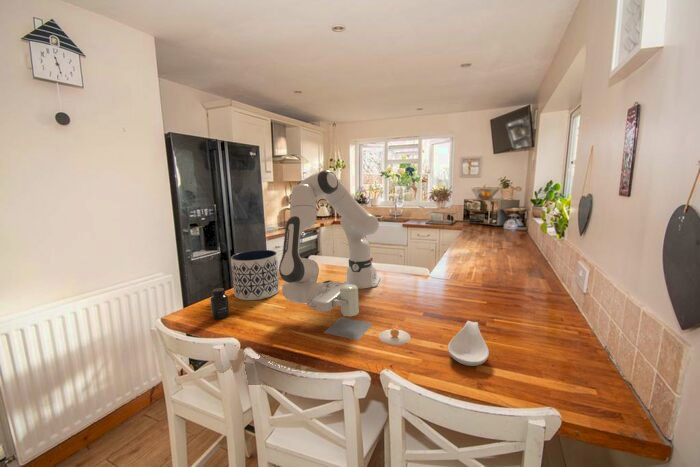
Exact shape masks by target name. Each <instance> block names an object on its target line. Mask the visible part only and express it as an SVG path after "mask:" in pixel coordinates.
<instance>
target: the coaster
mask: <svg viewBox="0 0 700 467" xmlns="http://www.w3.org/2000/svg"><path fill="white" fill-rule="evenodd" d="M392 329H393V328H391V329H385V330H383V331H381V332H380V333H379V335H378V337H379V340H380V341H381V342H383V343H384V344H388V345H392V346H400V345H401V346H402V345H404V344H407V343H409V342H410V341H411V338H412V337H411V334H410V333H408V332H407V331H405V330H402V329H398V331H399V335H398V336H397V337H393V336H392V335H391V333H390V332H391V330H392Z"/></svg>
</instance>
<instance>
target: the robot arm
mask: <svg viewBox="0 0 700 467" xmlns="http://www.w3.org/2000/svg"><path fill="white" fill-rule="evenodd" d="M322 198H325V199H326V201H327V202H328V203H329V205H330V206H331V207H332V209H333V210H334V211H335V212H336V213H337V215H338V216H340V226H341V229H343V231H344V233H345V236H346V239H347V243H348V252H349V253H348V254H349V255H348V257H349V258H348V268H346V279H345V280H344V282H340V281H333V280H332V279H328V280H326V281H321V282H317V280H318V277H319V272H320V271H319V270H320V268H319V265H318V263H317V262H316V261H315V260H314V259H310V258H307V257H306V258H304V257H301V256H300V246H301V245H300V244H301V236H302V233H303V232H305V231H306V230H309V229H311V228H312V227H313V226H314V225H315V224H316V220H317V201H316V200H320V199H322ZM289 205H290V206H289V211H290V212H289V218H288V219H287V221H286V224H285V228H284V229H285V230H284V237H283V249H282V255H281V259H280V263H279V265H278V274H279V276H280V278H281V279H282V280H283V282H284V283H283V284H282V288H281V289H282V290H281V291H282V292H281V293H282V296H283V297H284V298H285V299H286V300H288V301H289V302H291V303H297V304H306V305H307V307H309V308H312V309H313V310H314V311H315V310H316V311H319V312H322V313H328V312H330V311H331V310H332V309H333V308H335V307H341V306H346V305H347V304H348V300H345V299H343V300H340V287H341V286H343V285H348V284H352V285H356V286H357V288H358V290H360V289H368V288H376V287H378V285H379V284H380V281H381V276H379V275H377V268H376V267H374V266H373V264H372V263H373V262H372V261H374V260H373V259H374V258H373V257H372V256H371V245H370V243H369V241H368V240H367V237H366V236H370V235H374V234H376V233H377V231H378V229H379V227H380V224H379V219H378V218H377V217H376V216H375V215H373V214H371V213H370V212H368V210H367V209H365V208H364V207H363V206H362V205H361V204H360V203H359V202H357V200H356V199H355V198H354V197H353V195H352V194H351V193H350V192H349V190H348V189H347V188H346V186H345V185H344V184H343V183H342V182H341V180H340V179H339V178H338V177H337V175H336V174H335V173H334V172H332V171H331V170H329V169H328V170H327V169H326V170H321V171H320V172H317V173H314V174H311V175H309V176H307V177H306V178H304V179H302V180H300V181H299V182H298V183H296V184H295V185H294V187H293V188H292V190H291V196H290V203H289Z"/></svg>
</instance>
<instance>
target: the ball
mask: <svg viewBox="0 0 700 467" xmlns="http://www.w3.org/2000/svg"><path fill="white" fill-rule="evenodd" d="M391 329H392V330H391V332H390V333H391V335H392V336H393V337H397V336H398V335H399V331H398V330H399V329H398V328H396V327H395V328H391Z"/></svg>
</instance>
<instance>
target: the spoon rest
mask: <svg viewBox="0 0 700 467" xmlns="http://www.w3.org/2000/svg"><path fill="white" fill-rule="evenodd" d="M447 351H448V353H449V355H450V357H451V358H452V359H453V360H455V361H456V362H458V363H460V364H462V365H464V366H469V367H476V366H480V365H482V364H484V363H485V362H486V361H487V360H488V358H489V356H490V351H489V347H488V345H487V342H486V341H485V339H484V337H483V335H482V333H481V330H480V325H479V323H478V321H477V322H476V321H475V322H474V321H470V320H467V321H466V323H465V324H464V326H463V328H462V329H460V330H459V331H458V332H457V334H455V335H454V336H453V338H452V339H451V340H450V341H449V342H448V344H447Z"/></svg>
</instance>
